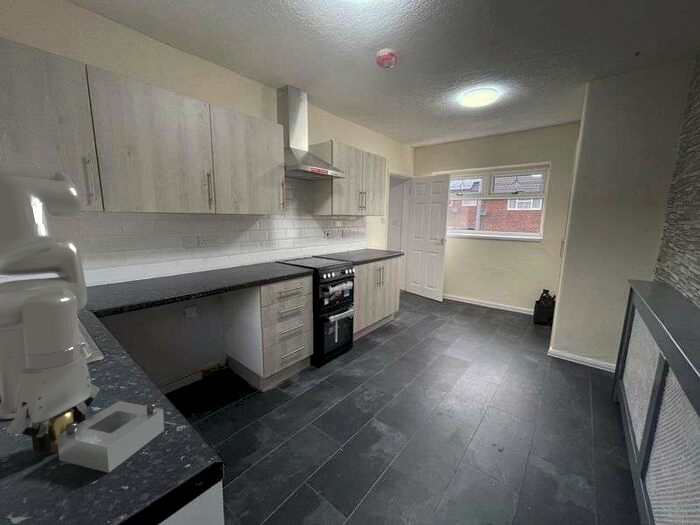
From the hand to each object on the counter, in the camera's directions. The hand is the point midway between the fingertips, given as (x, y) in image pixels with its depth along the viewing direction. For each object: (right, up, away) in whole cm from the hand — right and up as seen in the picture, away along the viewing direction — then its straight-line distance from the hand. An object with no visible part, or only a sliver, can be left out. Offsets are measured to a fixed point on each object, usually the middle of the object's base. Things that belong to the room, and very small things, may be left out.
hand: (61, 441), depth 60 cm
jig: (+10, -1, +1) cm, 10 cm away
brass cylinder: (0, -1, 0) cm, 1 cm away
